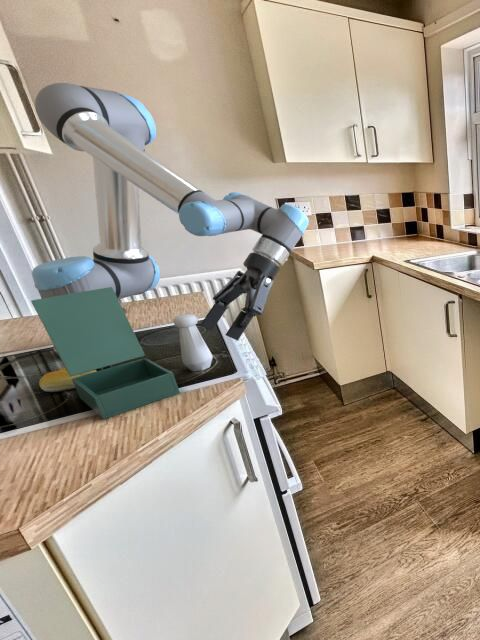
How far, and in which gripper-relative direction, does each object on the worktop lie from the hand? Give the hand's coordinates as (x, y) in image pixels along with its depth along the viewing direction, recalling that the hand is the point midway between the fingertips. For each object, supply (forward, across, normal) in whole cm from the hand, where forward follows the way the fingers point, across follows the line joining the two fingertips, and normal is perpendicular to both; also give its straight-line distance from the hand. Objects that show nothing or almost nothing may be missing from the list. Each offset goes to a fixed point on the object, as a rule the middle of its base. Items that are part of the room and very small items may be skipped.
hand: (218, 333), depth 101 cm
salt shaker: (+9, 0, -1) cm, 9 cm away
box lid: (+10, +7, +18) cm, 22 cm away
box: (+19, -3, +9) cm, 21 cm away
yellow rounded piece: (+22, +16, +12) cm, 30 cm away
